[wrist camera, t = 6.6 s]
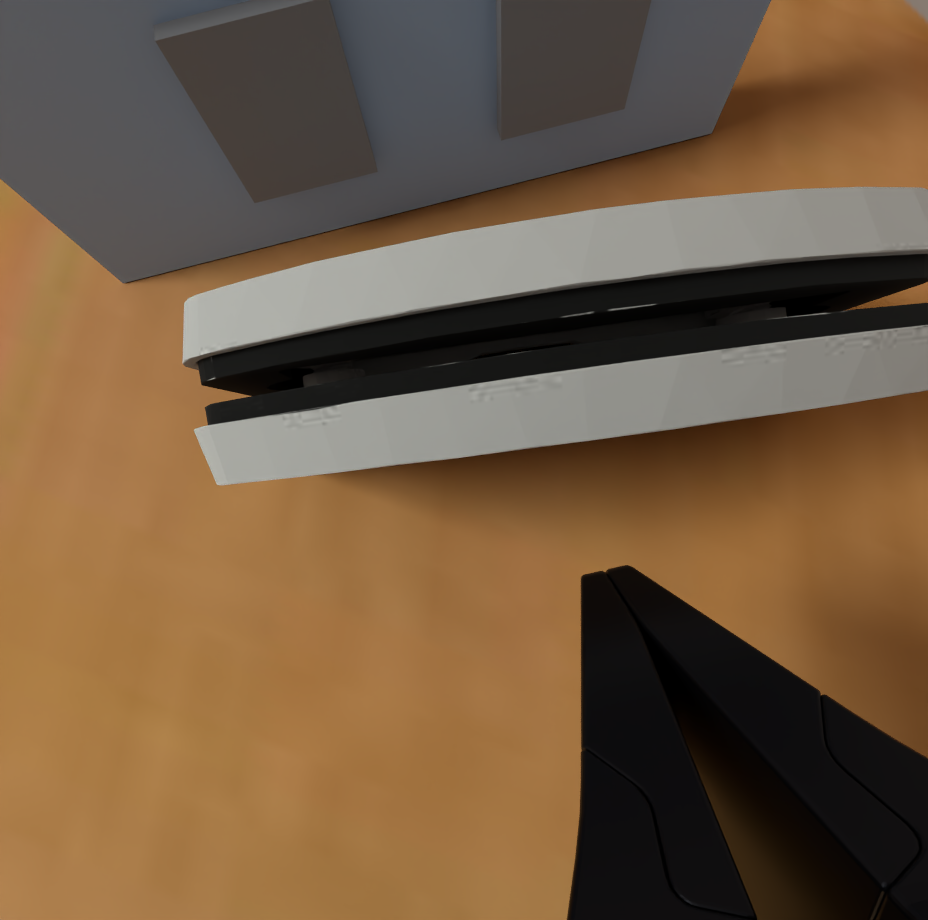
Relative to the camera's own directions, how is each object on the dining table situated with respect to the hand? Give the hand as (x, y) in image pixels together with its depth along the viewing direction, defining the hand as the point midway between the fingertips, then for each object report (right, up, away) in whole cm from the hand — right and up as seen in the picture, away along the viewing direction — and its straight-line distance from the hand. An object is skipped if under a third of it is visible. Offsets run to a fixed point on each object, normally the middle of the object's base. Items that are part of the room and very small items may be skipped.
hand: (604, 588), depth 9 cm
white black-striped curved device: (0, +4, +8) cm, 9 cm away
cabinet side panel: (-4, +12, +10) cm, 17 cm away
